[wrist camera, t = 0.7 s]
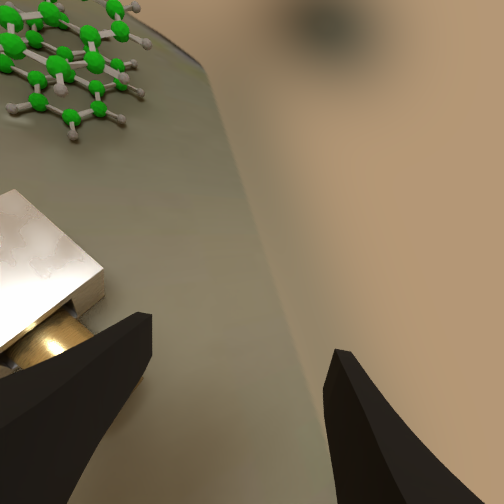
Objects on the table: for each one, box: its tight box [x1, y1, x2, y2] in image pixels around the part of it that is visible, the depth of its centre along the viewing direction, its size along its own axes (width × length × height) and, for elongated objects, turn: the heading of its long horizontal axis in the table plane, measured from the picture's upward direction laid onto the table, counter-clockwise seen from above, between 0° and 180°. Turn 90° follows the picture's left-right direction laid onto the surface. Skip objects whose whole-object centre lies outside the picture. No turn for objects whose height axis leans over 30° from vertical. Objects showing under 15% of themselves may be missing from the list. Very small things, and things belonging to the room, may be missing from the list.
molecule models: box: [0, 0, 152, 140], centre depth 29 cm, size 17×25×10 cm, turn 19°
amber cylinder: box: [3, 306, 143, 391], centre depth 19 cm, size 4×11×4 cm, turn 54°
